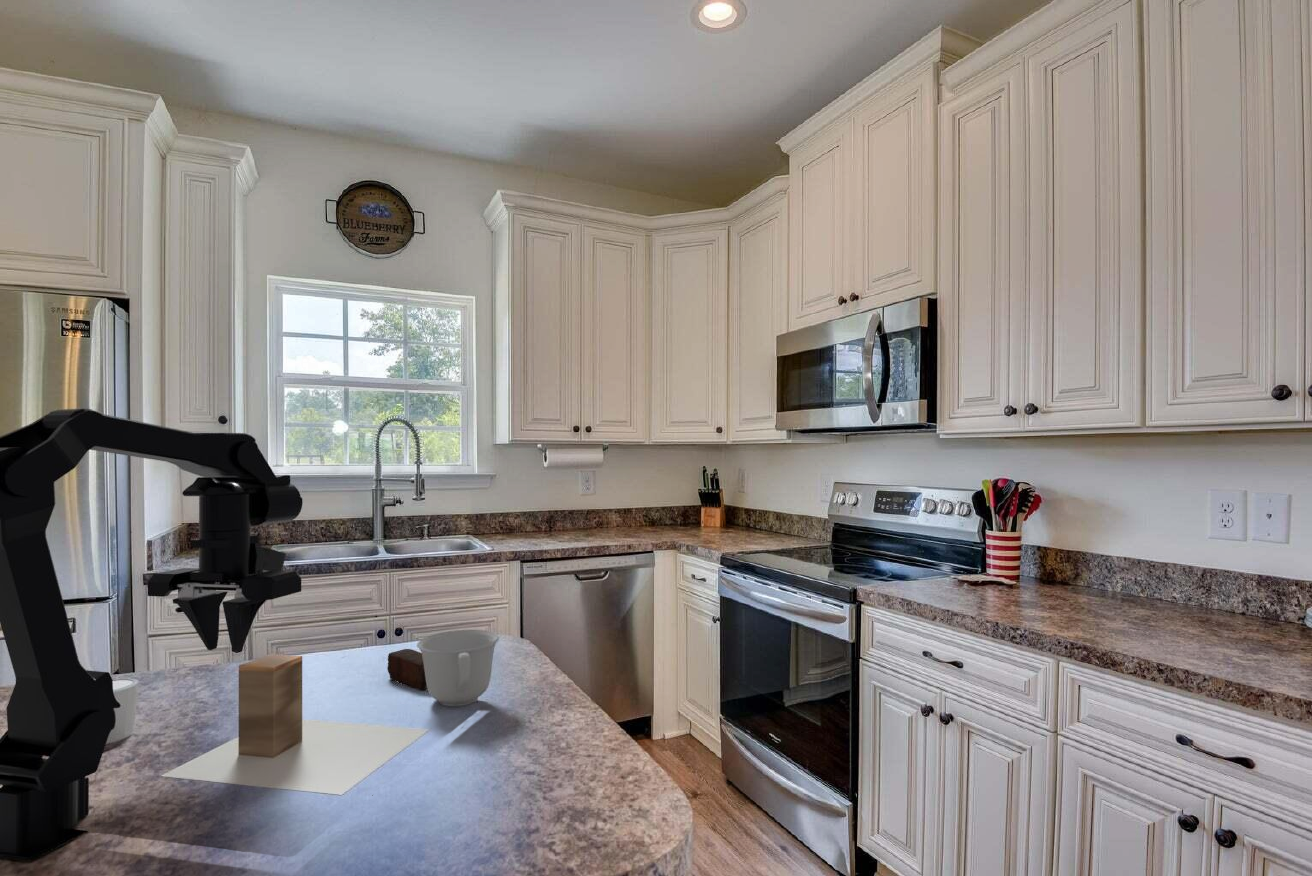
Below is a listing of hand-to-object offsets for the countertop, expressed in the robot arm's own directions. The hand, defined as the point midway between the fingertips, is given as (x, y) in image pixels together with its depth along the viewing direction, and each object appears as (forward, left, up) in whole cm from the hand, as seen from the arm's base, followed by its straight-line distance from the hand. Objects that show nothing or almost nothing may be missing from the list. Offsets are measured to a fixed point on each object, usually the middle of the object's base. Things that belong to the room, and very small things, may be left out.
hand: (225, 650), depth 88 cm
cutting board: (0, -12, -13) cm, 18 cm away
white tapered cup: (+1, +20, -13) cm, 24 cm away
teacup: (+19, -23, -13) cm, 33 cm away
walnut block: (0, -7, -12) cm, 14 cm away
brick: (+29, -9, -13) cm, 33 cm away
